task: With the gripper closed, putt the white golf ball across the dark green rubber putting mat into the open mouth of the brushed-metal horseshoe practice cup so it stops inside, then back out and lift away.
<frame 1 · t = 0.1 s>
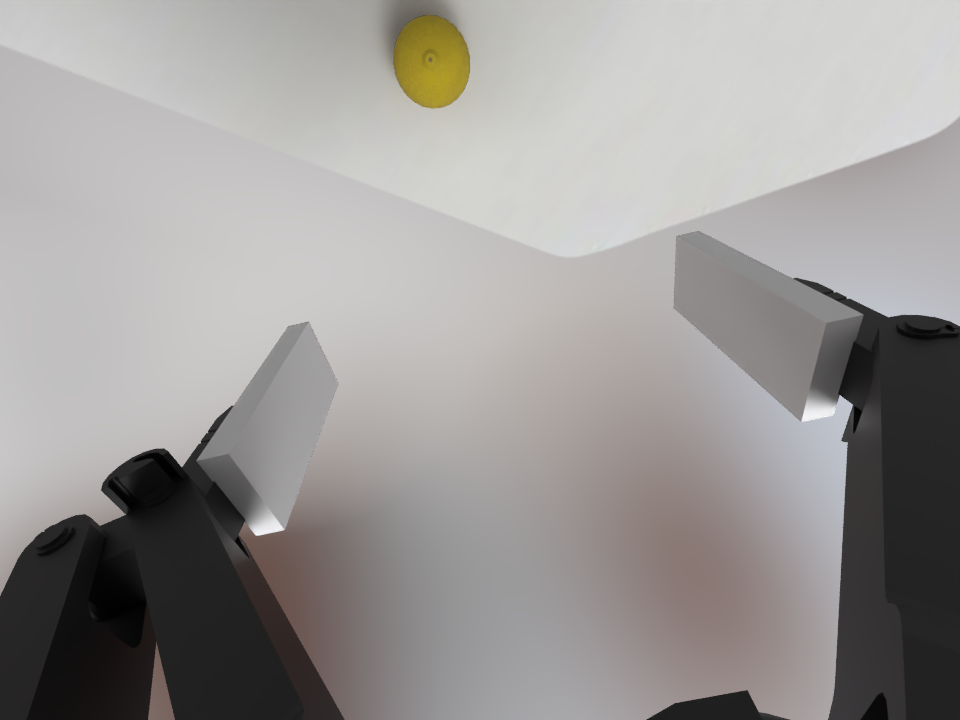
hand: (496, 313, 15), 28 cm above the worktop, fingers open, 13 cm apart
lemon: (433, 68, 34), on the worktop
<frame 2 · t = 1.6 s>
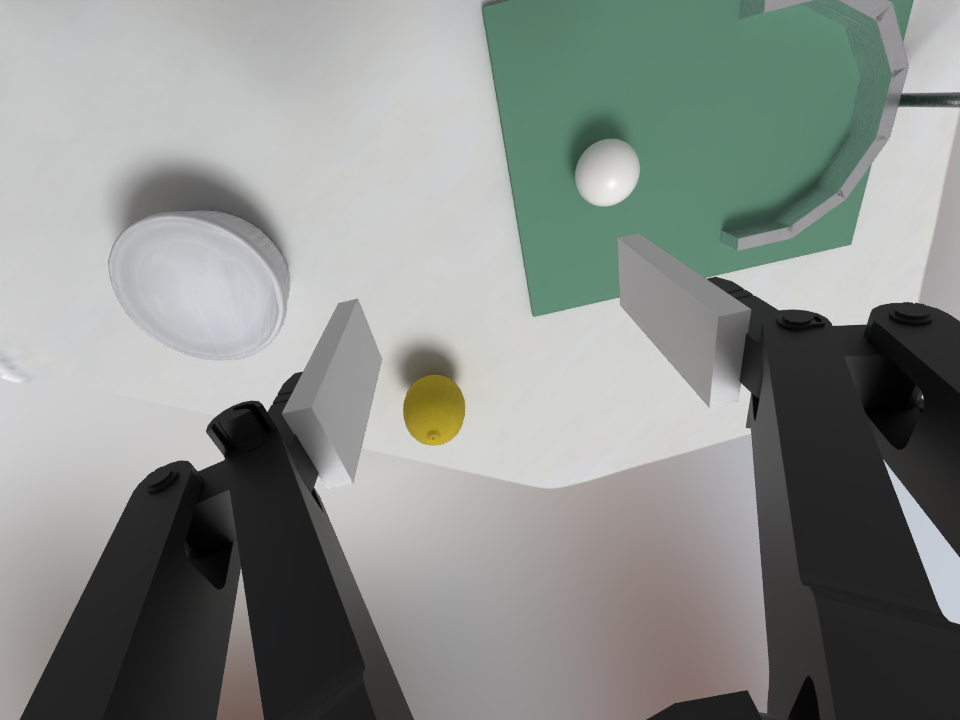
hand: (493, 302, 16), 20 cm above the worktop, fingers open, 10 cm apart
ramekin: (231, 269, 35), on the worktop
golf ball: (606, 173, 30), point 3 cm above the worktop, touching putting mat
practice cup: (753, 129, 32), resting on putting mat
lemon: (435, 382, 42), on the worktop
putting mat: (693, 144, 32), on the worktop
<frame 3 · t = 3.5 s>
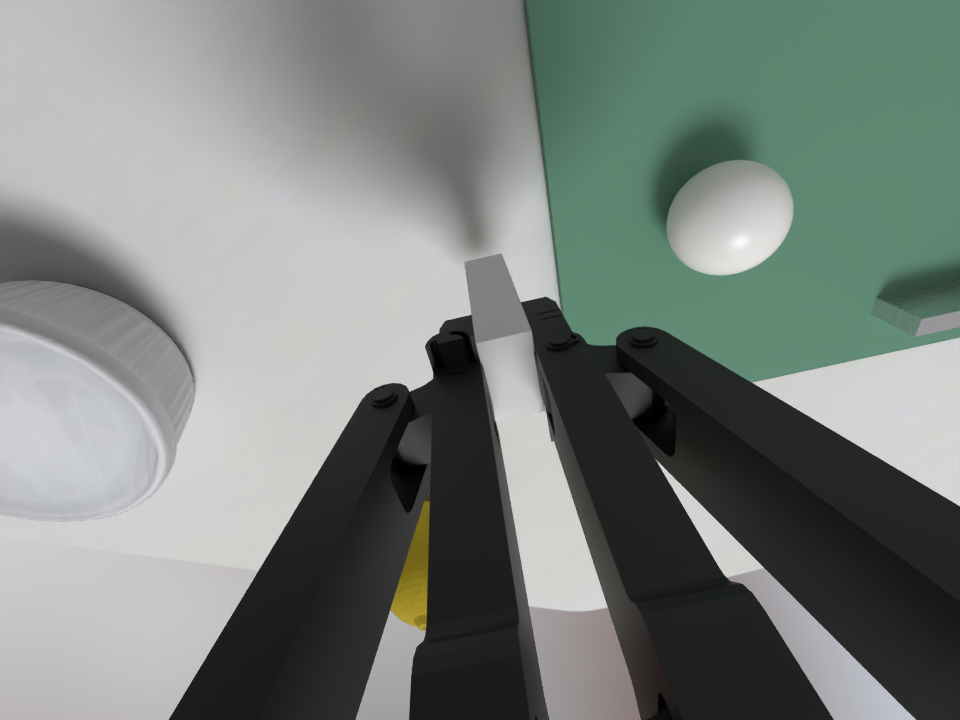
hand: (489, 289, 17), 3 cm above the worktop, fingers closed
ramekin: (99, 362, 22), on the worktop
golf ball: (725, 219, 17), point 3 cm above the worktop, touching putting mat
lemon: (428, 500, 29), on the worktop
putting mat: (858, 165, 19), on the worktop
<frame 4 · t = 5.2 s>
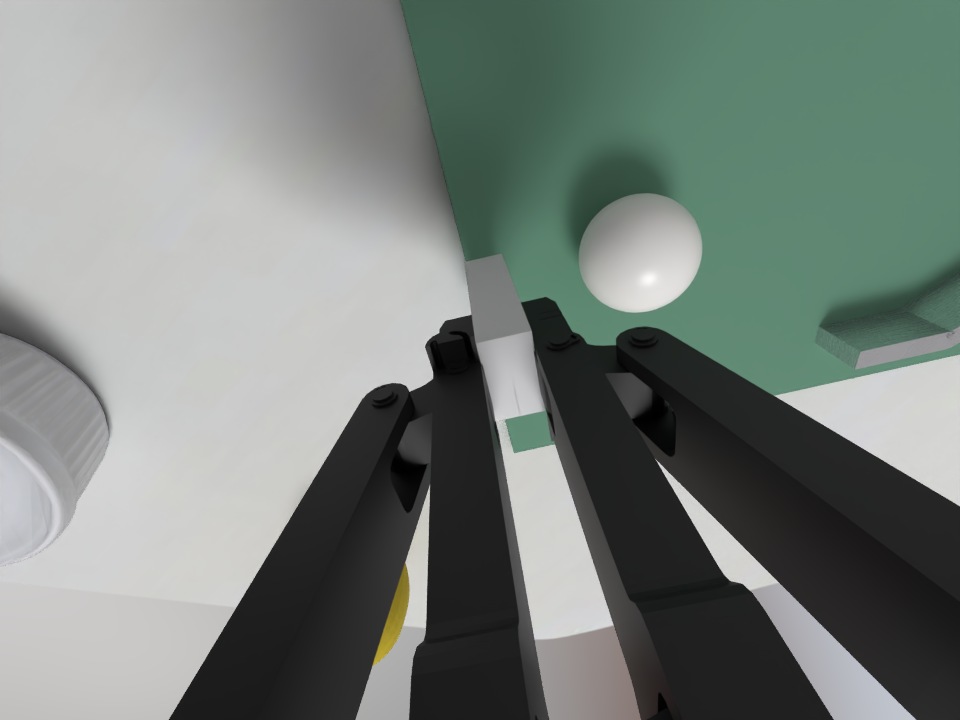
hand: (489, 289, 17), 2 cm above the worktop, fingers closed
ramekin: (9, 401, 21), on the worktop
golf ball: (637, 254, 16), point 3 cm above the worktop, touching putting mat
practice cup: (893, 166, 18), resting on putting mat
lemon: (370, 532, 28), on the worktop
putting mat: (786, 193, 18), on the worktop
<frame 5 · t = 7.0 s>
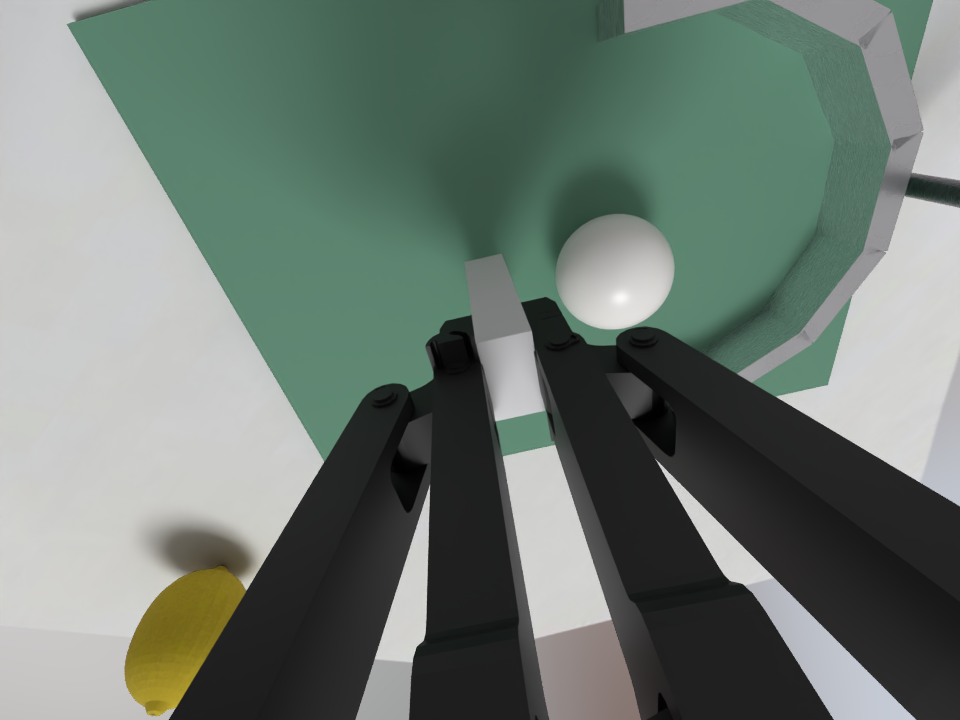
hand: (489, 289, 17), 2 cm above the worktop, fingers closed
golf ball: (612, 273, 17), point 3 cm above the worktop, tilted 120°, touching putting mat
practice cup: (652, 227, 18), resting on putting mat
lemon: (223, 564, 28), on the worktop
putting mat: (551, 251, 19), on the worktop
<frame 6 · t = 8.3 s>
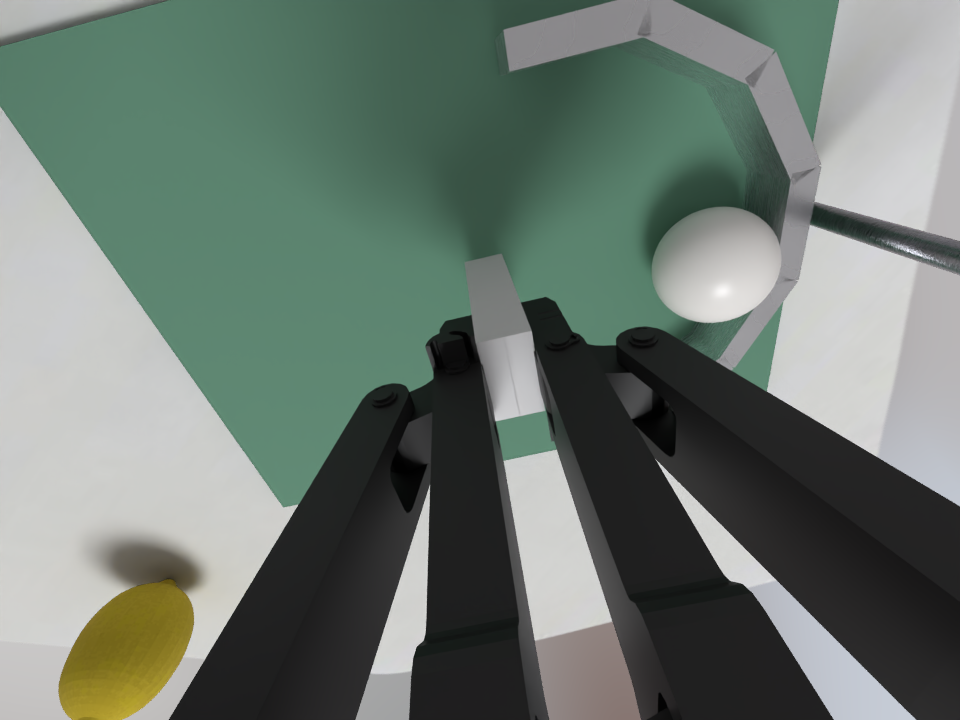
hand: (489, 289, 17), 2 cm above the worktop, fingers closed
golf ball: (712, 266, 17), point 3 cm above the worktop, tilted 73°, touching putting mat
practice cup: (574, 252, 19), resting on putting mat
lemon: (172, 577, 29), on the worktop
putting mat: (474, 275, 19), on the worktop
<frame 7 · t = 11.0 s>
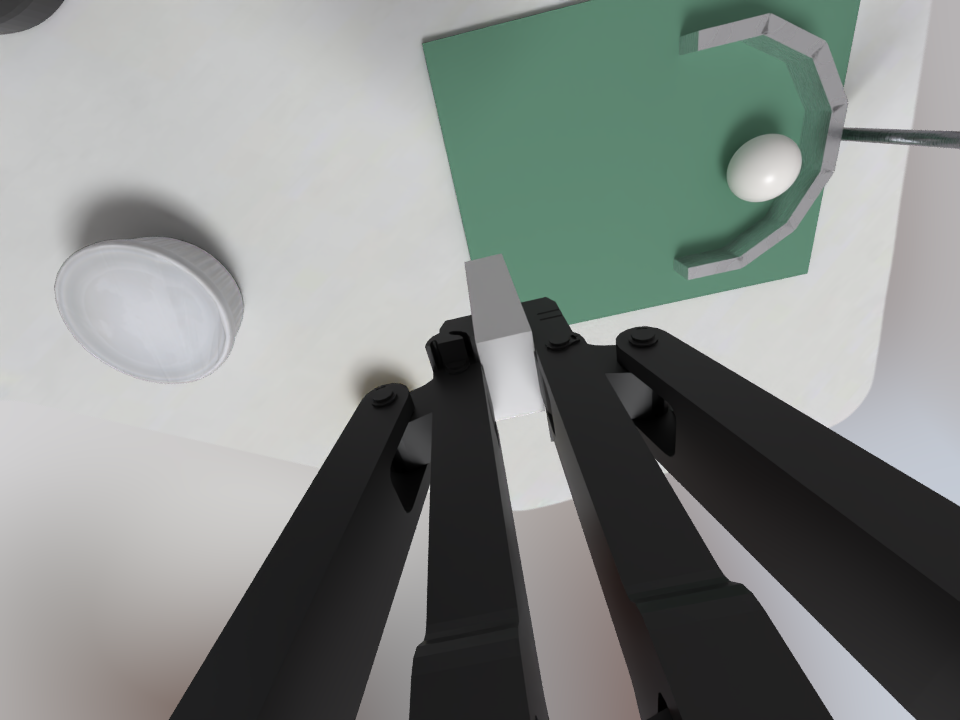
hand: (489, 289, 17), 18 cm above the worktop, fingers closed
ramekin: (186, 292, 35), on the worktop
golf ball: (762, 168, 30), point 3 cm above the worktop, tilted 31°, touching putting mat
practice cup: (700, 161, 32), resting on putting mat
putting mat: (641, 175, 32), on the worktop
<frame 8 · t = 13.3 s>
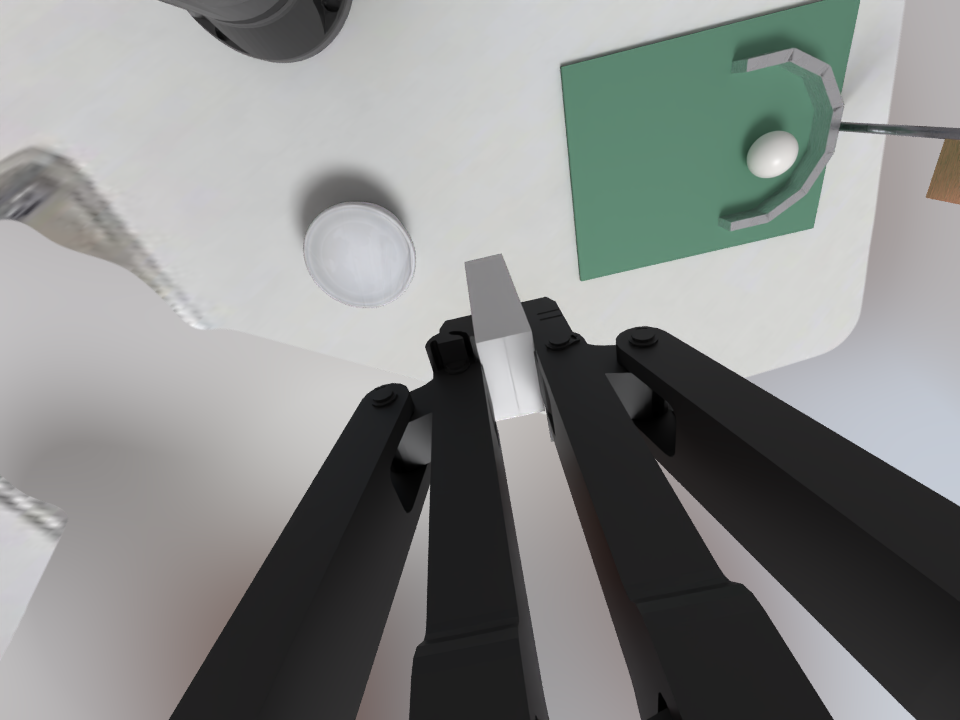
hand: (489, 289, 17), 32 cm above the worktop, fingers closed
ramekin: (368, 244, 48), on the worktop
golf ball: (771, 154, 44), point 3 cm above the worktop, tilted 8°, touching putting mat
practice cup: (741, 146, 45), resting on putting mat
putting mat: (699, 156, 46), on the worktop
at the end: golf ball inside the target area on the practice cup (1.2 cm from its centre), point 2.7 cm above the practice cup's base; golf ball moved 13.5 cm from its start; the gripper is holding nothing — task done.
